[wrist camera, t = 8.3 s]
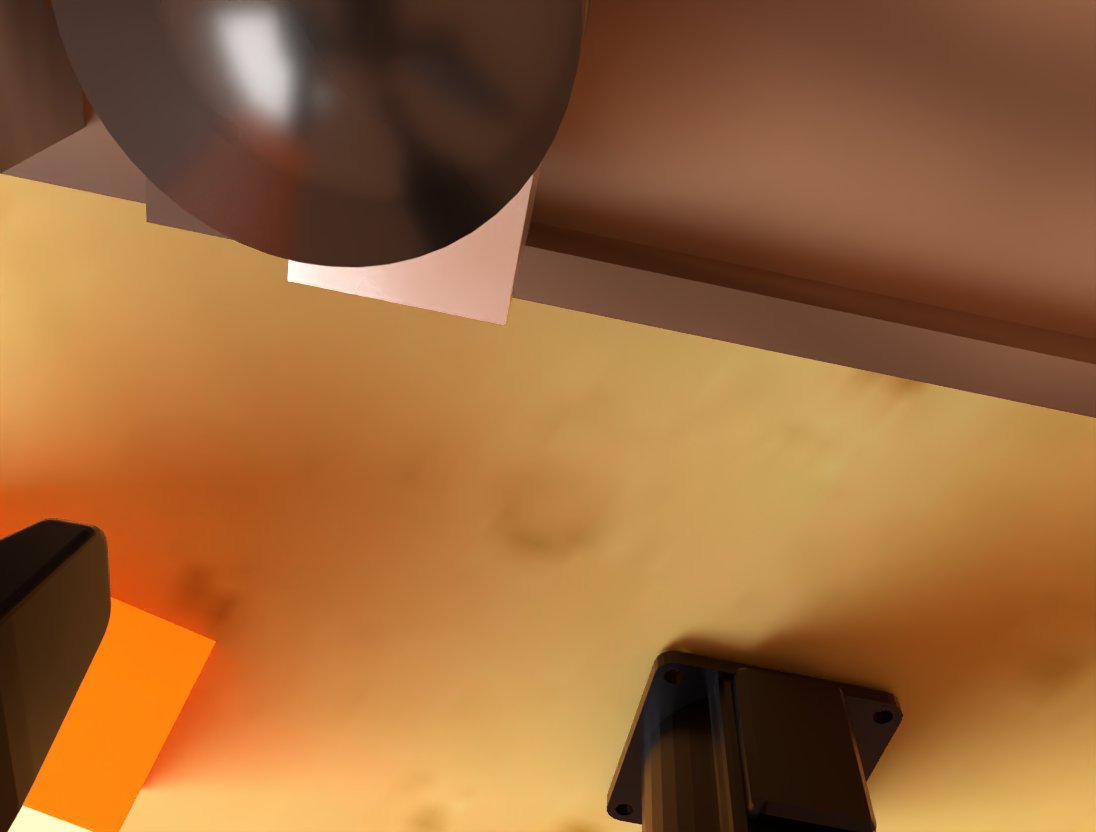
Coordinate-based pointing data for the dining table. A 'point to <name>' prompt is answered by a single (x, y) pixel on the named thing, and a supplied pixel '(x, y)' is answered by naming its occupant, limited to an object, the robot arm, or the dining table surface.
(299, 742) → the dining table surface
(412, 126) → the jaw
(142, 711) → the orange juice
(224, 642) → the dining table surface
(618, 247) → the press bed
